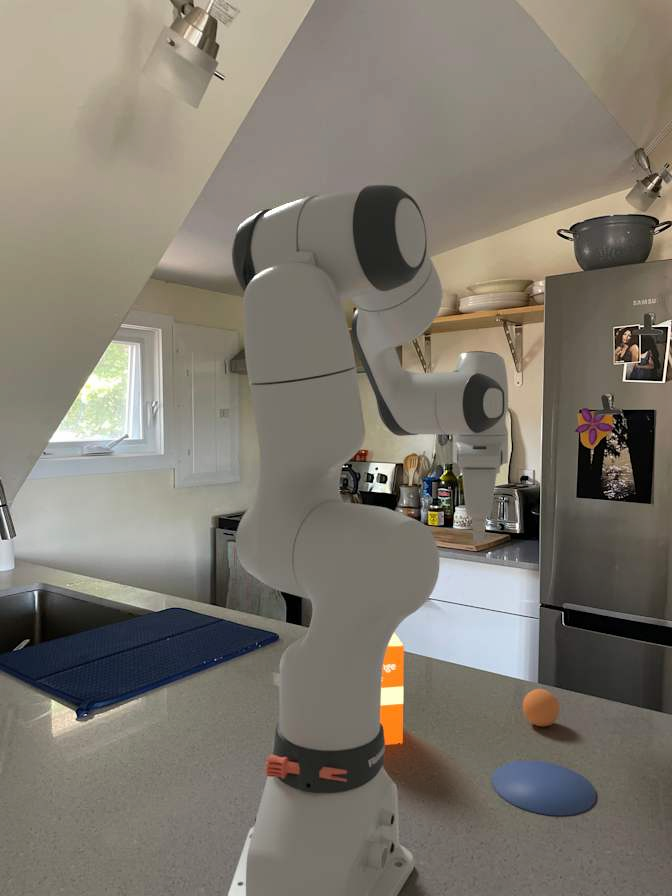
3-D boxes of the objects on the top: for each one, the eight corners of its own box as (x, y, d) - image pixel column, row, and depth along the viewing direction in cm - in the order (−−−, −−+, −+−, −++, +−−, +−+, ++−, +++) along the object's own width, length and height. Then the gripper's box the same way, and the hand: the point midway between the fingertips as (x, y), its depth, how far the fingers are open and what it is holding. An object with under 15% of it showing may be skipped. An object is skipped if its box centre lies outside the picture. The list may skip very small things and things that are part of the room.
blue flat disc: (600, 823, 83) (600, 821, 83) (489, 805, 86) (489, 804, 86) (591, 769, 95) (591, 768, 95) (494, 756, 99) (494, 755, 99)
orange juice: (352, 748, 101) (353, 612, 100) (339, 721, 110) (340, 596, 109) (404, 743, 103) (405, 609, 102) (387, 717, 111) (388, 594, 110)
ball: (559, 734, 106) (560, 699, 106) (522, 730, 107) (523, 695, 107) (558, 719, 111) (559, 685, 111) (522, 715, 113) (523, 681, 112)
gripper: (463, 447, 125) (462, 524, 126) (457, 457, 105) (457, 547, 106) (499, 447, 123) (498, 525, 124) (500, 457, 104) (499, 549, 105)
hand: (479, 535), depth 115 cm, fingers open, 8 cm apart
